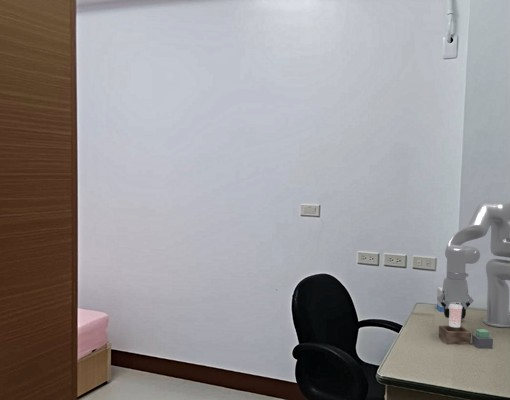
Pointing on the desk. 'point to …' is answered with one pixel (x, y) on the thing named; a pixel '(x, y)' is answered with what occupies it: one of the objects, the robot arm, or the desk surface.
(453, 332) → the open wooden cube shelf
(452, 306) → the beverage cup
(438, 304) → the ink box
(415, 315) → the desk surface
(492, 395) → the desk surface
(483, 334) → the button
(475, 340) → the button housing
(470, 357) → the desk surface
